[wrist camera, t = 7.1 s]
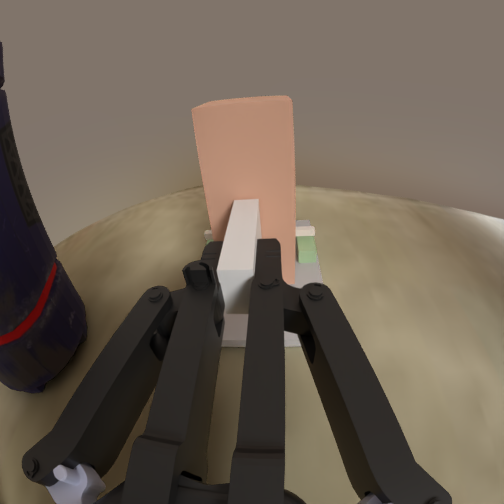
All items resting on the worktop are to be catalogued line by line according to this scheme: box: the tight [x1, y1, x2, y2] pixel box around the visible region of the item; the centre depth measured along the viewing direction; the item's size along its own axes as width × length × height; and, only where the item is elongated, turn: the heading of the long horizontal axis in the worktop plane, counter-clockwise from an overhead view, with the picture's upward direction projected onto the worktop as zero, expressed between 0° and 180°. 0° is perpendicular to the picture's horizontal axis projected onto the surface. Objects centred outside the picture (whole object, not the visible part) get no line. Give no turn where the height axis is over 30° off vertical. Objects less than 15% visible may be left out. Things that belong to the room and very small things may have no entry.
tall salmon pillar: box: [191, 95, 315, 284], centre depth 19 cm, size 10×5×13 cm, turn 87°
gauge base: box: [206, 220, 323, 347], centre depth 23 cm, size 10×15×2 cm, turn 177°
